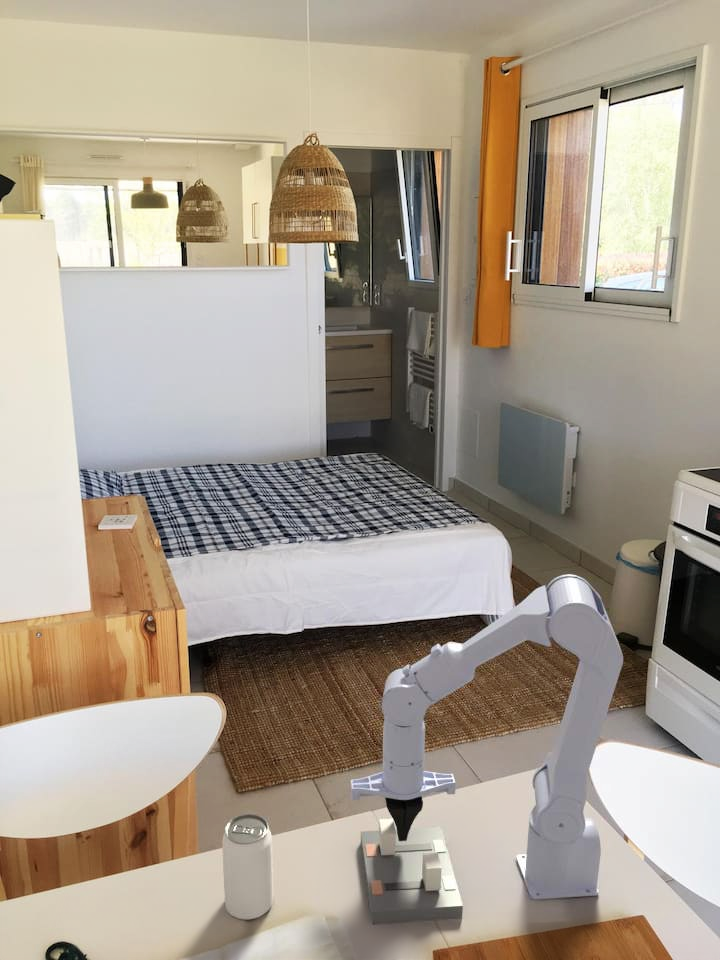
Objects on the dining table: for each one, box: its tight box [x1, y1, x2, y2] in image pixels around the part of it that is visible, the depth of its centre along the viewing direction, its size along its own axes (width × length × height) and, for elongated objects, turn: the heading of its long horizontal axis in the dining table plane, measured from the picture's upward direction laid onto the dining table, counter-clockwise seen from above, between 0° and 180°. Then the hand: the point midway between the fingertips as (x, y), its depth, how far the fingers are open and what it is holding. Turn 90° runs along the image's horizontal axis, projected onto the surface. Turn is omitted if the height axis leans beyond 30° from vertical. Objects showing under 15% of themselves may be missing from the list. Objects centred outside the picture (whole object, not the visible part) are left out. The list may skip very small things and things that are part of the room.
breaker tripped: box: [378, 818, 396, 855], centre depth 117 cm, size 2×3×4 cm, turn 6°
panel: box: [360, 826, 464, 925], centre depth 115 cm, size 12×15×2 cm
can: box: [221, 813, 274, 921], centre depth 109 cm, size 6×6×12 cm
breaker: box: [422, 852, 442, 891], centre depth 110 cm, size 2×3×4 cm, turn 5°
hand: (401, 836), depth 117 cm, fingers closed
